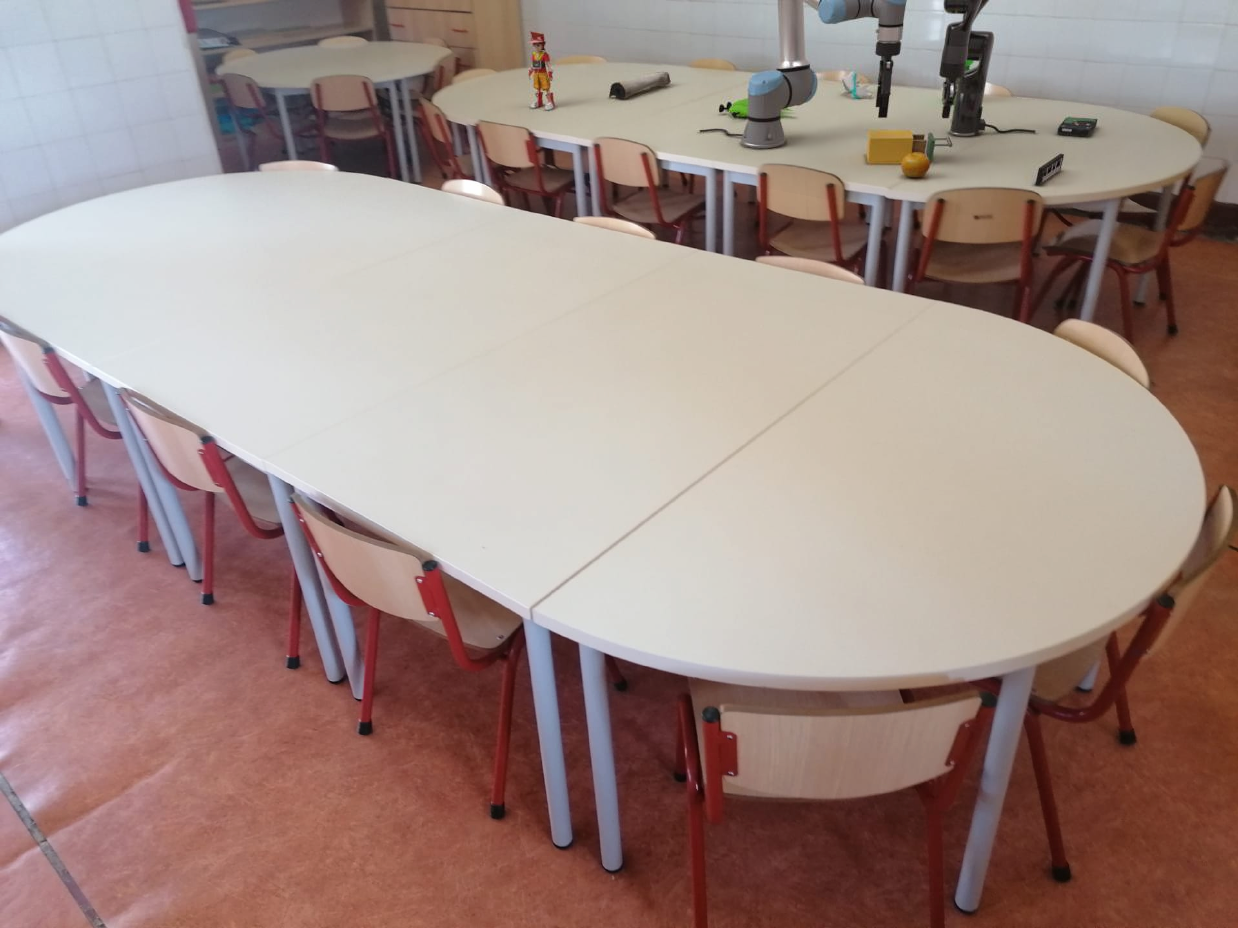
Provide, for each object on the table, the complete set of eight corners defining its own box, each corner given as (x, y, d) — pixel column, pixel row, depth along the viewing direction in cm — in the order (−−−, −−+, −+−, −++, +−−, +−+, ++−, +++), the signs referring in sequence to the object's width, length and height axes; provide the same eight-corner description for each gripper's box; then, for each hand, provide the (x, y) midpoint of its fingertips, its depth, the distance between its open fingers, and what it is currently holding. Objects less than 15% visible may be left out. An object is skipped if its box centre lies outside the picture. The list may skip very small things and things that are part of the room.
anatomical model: (837, 70, 373) (861, 64, 372) (839, 96, 379) (863, 89, 378) (847, 78, 361) (872, 71, 360) (850, 104, 367) (874, 98, 366)
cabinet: (907, 155, 301) (910, 130, 297) (910, 164, 293) (913, 138, 289) (866, 155, 304) (868, 130, 299) (867, 164, 296) (870, 138, 291)
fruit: (895, 167, 279) (911, 144, 276) (896, 170, 287) (913, 147, 284) (917, 183, 278) (934, 160, 275) (918, 184, 285) (935, 162, 282)
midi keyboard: (1039, 185, 269) (1043, 168, 266) (1035, 184, 270) (1038, 168, 267) (1060, 170, 279) (1064, 154, 277) (1056, 169, 280) (1060, 153, 277)
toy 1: (525, 109, 381) (517, 32, 364) (534, 104, 388) (527, 28, 371) (550, 110, 377) (543, 32, 360) (559, 105, 384) (553, 28, 367)
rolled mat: (651, 76, 408) (662, 61, 399) (662, 93, 408) (674, 79, 400) (605, 92, 391) (616, 77, 383) (617, 110, 391) (628, 95, 383)
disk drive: (1089, 138, 306) (1096, 126, 316) (1091, 129, 305) (1098, 118, 315) (1056, 135, 311) (1064, 124, 321) (1058, 126, 309) (1066, 115, 320)
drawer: (947, 152, 298) (950, 133, 295) (950, 160, 291) (953, 140, 288) (891, 153, 301) (893, 133, 298) (893, 160, 294) (895, 140, 291)
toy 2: (709, 116, 351) (780, 128, 338) (711, 102, 348) (782, 114, 336) (739, 105, 371) (807, 117, 359) (741, 92, 368) (809, 103, 356)
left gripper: (874, 34, 289) (867, 103, 301) (879, 49, 269) (871, 122, 281) (898, 33, 288) (890, 102, 300) (904, 48, 268) (896, 122, 280)
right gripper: (938, 56, 284) (930, 113, 294) (943, 64, 274) (935, 123, 284) (963, 55, 283) (954, 112, 293) (969, 64, 272) (960, 123, 282)
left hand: (881, 112), depth 291 cm, fingers open, 13 cm apart
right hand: (945, 117), depth 288 cm, fingers closed
